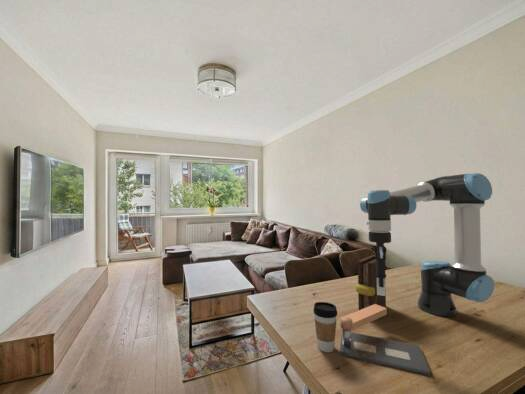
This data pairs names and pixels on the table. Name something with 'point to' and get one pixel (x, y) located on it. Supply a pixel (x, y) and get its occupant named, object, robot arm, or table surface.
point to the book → (368, 284)
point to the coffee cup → (325, 325)
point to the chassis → (383, 352)
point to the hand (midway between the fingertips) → (381, 294)
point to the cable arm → (362, 317)
